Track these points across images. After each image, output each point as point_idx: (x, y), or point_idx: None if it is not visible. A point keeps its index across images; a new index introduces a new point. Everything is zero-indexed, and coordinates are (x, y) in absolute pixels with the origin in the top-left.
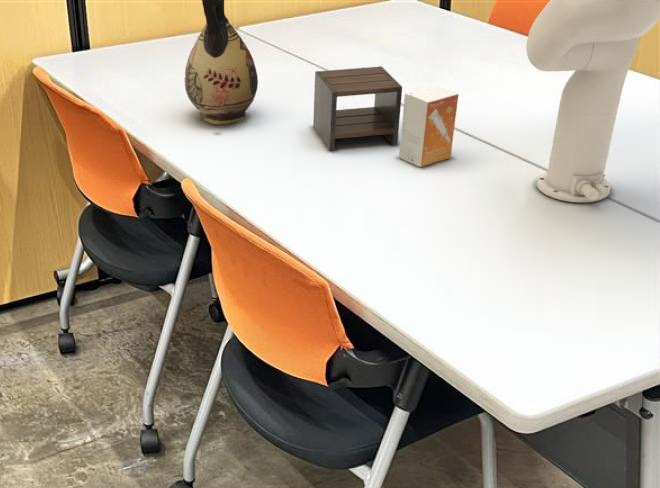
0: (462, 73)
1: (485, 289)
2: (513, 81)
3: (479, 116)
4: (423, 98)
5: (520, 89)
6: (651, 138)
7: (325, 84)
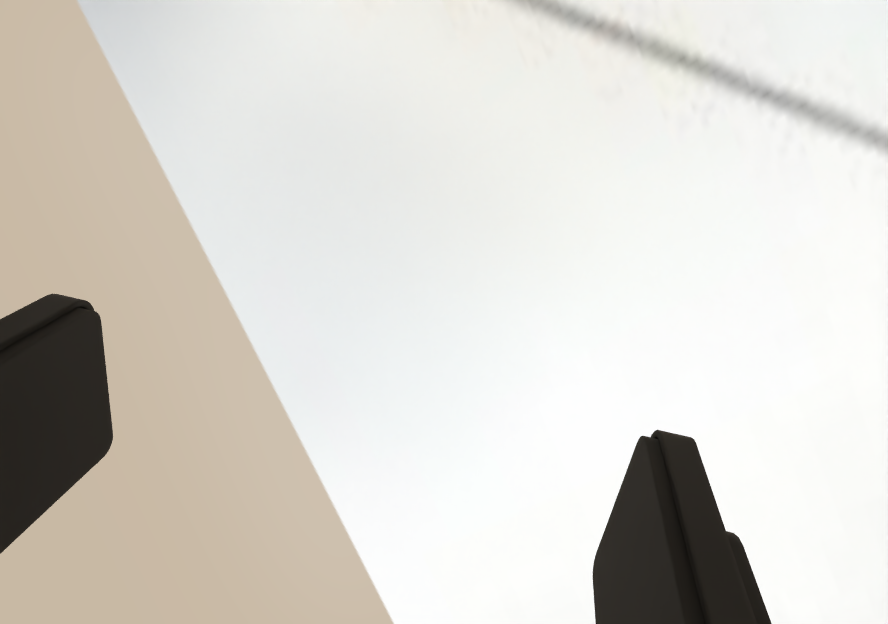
0: (884, 550)
1: None
2: None
3: (711, 245)
4: None
5: None
6: (249, 335)
7: None
